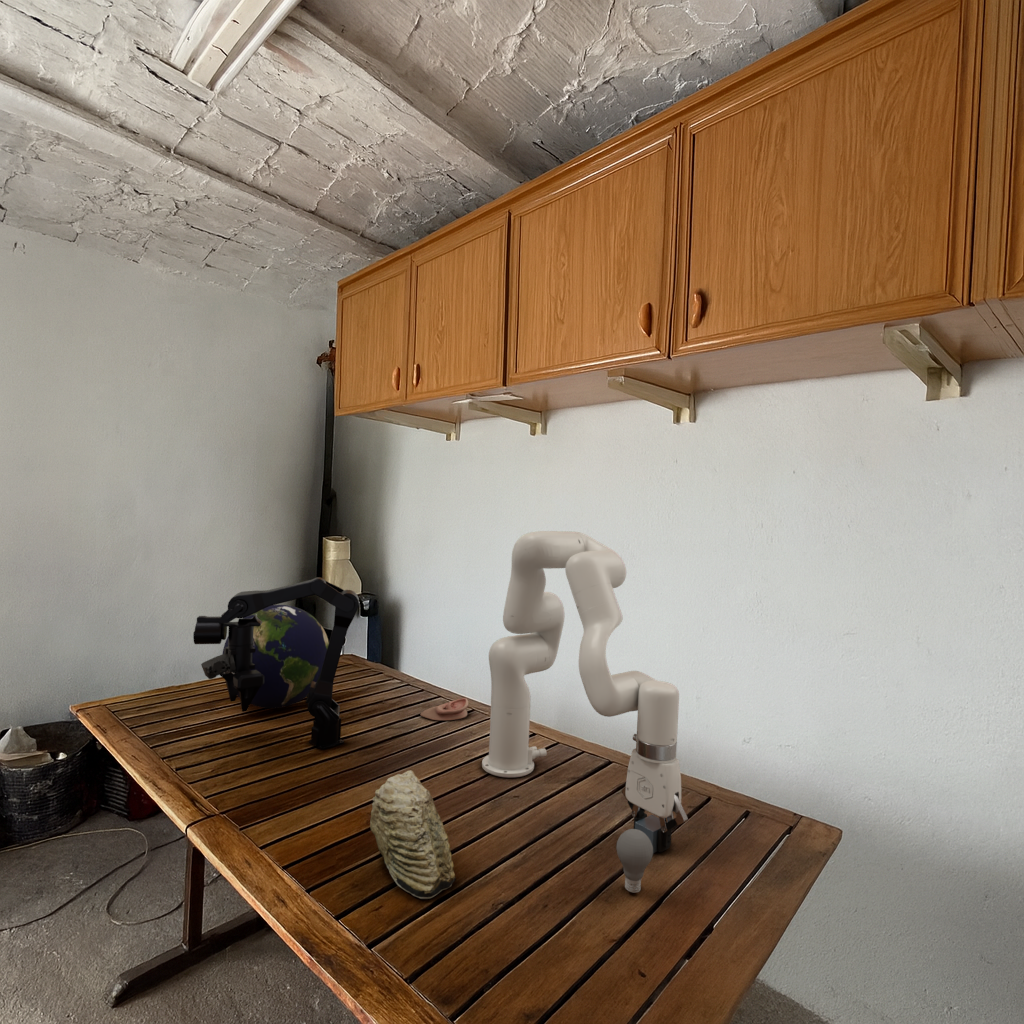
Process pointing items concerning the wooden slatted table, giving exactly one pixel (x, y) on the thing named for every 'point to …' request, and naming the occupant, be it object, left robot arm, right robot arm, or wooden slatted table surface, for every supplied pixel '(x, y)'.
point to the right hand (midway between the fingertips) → (651, 841)
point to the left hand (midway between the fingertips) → (238, 706)
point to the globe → (286, 654)
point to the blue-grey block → (650, 829)
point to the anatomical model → (447, 710)
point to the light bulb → (634, 857)
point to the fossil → (412, 836)
